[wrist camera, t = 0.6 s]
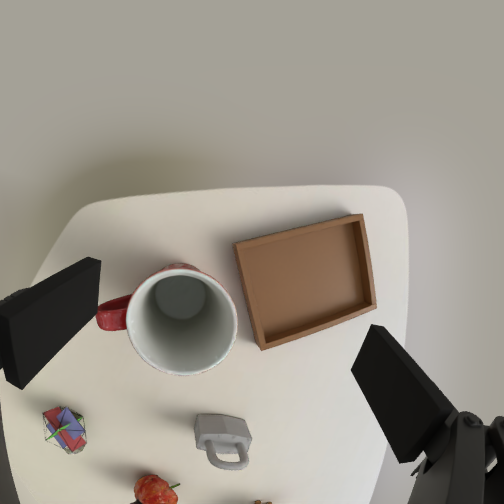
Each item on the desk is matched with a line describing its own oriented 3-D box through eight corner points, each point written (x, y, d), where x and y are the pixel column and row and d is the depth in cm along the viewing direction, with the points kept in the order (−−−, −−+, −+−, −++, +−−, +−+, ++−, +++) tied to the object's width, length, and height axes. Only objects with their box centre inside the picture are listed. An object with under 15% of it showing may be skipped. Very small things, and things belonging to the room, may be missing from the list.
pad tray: (231, 243, 36) (235, 244, 34) (353, 214, 40) (362, 213, 38) (256, 344, 38) (261, 351, 35) (367, 304, 42) (377, 308, 39)
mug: (217, 254, 36) (238, 267, 23) (218, 326, 37) (238, 373, 23) (115, 254, 33) (78, 267, 20) (120, 327, 34) (91, 374, 21)
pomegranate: (171, 460, 38) (121, 474, 31) (200, 489, 34) (148, 510, 26) (163, 481, 39) (117, 495, 31) (189, 508, 34) (142, 527, 27)
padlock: (246, 416, 38) (264, 459, 29) (239, 436, 38) (255, 479, 29) (198, 410, 37) (205, 455, 27) (193, 431, 37) (199, 476, 27)
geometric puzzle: (30, 409, 29) (41, 456, 23) (49, 388, 29) (62, 438, 24) (66, 420, 34) (80, 463, 29) (87, 401, 35) (104, 446, 30)
